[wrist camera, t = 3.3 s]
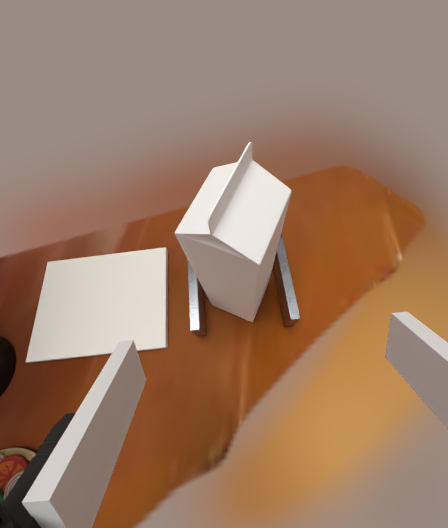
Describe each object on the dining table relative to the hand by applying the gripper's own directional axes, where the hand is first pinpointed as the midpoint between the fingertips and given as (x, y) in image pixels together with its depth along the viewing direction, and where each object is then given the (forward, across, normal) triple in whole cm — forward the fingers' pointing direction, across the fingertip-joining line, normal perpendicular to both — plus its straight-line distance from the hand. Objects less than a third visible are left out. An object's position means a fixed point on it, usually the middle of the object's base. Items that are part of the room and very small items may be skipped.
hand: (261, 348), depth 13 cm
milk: (+20, 0, -7) cm, 21 cm away
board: (+20, -20, -6) cm, 29 cm away
